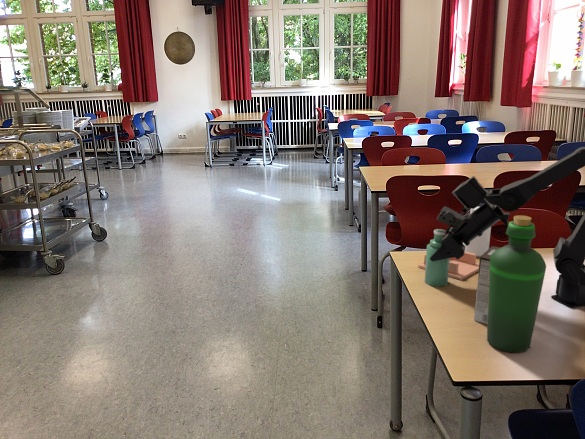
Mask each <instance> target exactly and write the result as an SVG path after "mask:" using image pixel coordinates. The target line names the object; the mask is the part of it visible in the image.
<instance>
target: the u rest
mask: <svg viewBox="0 0 585 439" xmlns="http://www.w3.org/2000/svg"><path fill="white" fill-rule="evenodd" d="M418 268H419V269H423V270H425V268H426V254H425V255H424V261H423V262H422V263H420V264H418ZM478 272H479V262H477V256H476V254H473V253H469V252H465V253H464V256H462V257H461V258H459V259H456V258H455V257H453V258H450V261H449V274H448V278H452V279H456V280H460V281H463V280H465V279H466V278H468V277H470V276H472V275H473V274H475V273H478Z"/></svg>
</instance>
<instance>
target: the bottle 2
mask: <svg viewBox="0 0 585 439" xmlns="http://www.w3.org/2000/svg"><path fill="white" fill-rule="evenodd" d="M531 221H532V217H530V216H528V215H522V214H521V215H514V216H513V220H512V221H508V225H507V228H506V230H505V231H506V232H505V235H507V236H508V244H506V245H504V246H502V247H500V248H499V249H497V250H495V251H494V253H493V254H492V255H491V256H490V272H489V299H488V324H486V325H487V328H486V330H487V331H486V333H487V334H486V341H487V343H489V344H490V345H491V346H492V347H494V348H496V349H498V350H501V351H503V352H508V353H520V352H526V351H527V350H528V349H530V348H531V345H532V344H531V343H532V340H533V339H532V338H533V333H534V329H535V324H536V321H537V315H538V309H539V305H540V299H541V294H542V290H543V284H544V280H545V276H546V269H547V264H546V262H545V259H544V258H543V256H542V254H541V253H540V252H538V251H537V250H535V249H534V248H532V247H531V245H532V241H533V239H534V238H536V226H535V223H532V222H531Z"/></svg>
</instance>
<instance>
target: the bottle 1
mask: <svg viewBox="0 0 585 439" xmlns="http://www.w3.org/2000/svg"><path fill="white" fill-rule="evenodd" d="M433 235H434V236H433V239H430V241H429V243H428V244H426V254H425V255H426V268H425V269H424V270H425V271H424V283H425V284H426V285H429V286H432V287H435V288H436V287H438V288H439V287H440V288H441V287H445V286H447V285H448V284H449V283H448V282H449V277H448V274H449V261H450V258H447V259H442V260H437V261H431V260H430V257H431V256H432V255H433V254H434V253H435V252H436V251H437V249H438V248H439V247H440V246H441V240H442V238H443V237H445V236H446V229H445V230H444V229H440V228H436V229H434V230H433Z"/></svg>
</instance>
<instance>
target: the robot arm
mask: <svg viewBox="0 0 585 439" xmlns="http://www.w3.org/2000/svg"><path fill="white" fill-rule="evenodd" d="M582 168H585V146H581V147H578V148H577V149H576V150H574V151H572V152H571V153H570V154H568V155H566V156H565V157H563V158H561V159H559V160H558V161H556V162H554V163H553V164H551V165H549V166H547V167H545V168H544V169H542V170H540V171H538V172H537V173H534V174H533V175H531V176H530V177H527V178H525V179H520V180H516V181H514V182H512V183H509V184H507V185H504V186H502V188H492V189H491V188H490V189H486V188H485V187H484V186H483V185H482V184H481V183H480V182H479V180H478V179H477V177H476V176H474V175H473V176H471V177H470V178H469V179H466V181H463V182H462V183H460V184H459V185H458V186H457V187H456V188H455V189H454V190H453V191H452V192H451V194H453V196H454V197H456V199H457V200H458V201H459V202H460V203H461V205H463V207H465V208H466V209H470V210H471V208H472V209H474V208H476V207H477V206H478V207H479V208H477V209H476V210H475V211H473V212H472V213H471V212H470V213H471V214H470V213H466V214H465V215H462V214H460V213H459V212H457V211H455V210H454V209H452V208H450V207H448V206H443V207H442V208H441V210H440V212H439V214H438V215H437V217H436V220H437V221H438V222H440V223H443V224H445V225H447V228H446V229H445V235H444V237H443V238H442V240H441V246H440V247H439V248H438V249H437V251H436V252H435V253H434V254H433V255H432V256H431V257H430V260H431V261H437V260H442V259H447V258H453V257H455V258H456V259H459V258H461V257H462V256H464V253H465V246H464V244H465V245H466V246H468V245H469V244H470V241H472V240H473V239H475V238H476V237H477V236H479V237H480V236H481V235H483V232H484V231H486V230H487V229H488V228H490V227H491V228H492V226H494V225H495V224H497V222H499V221H501V223H503V225H504V226H508V225H509V218H510V213H511V212H512V213H513V212H515V211H518V210H519V209H520V208H521V207H523V206H524V205H526V204H527V203H528V202H529V201H530V200H531V199H532V198H533V197H535V195H537V194H538V193H539V192H541V191H543V190H545V189H546V188H548V187H549V186H551V185H553V184H556V183H557V182H559V181H561V180H563V179H564V178H566V177H568V176H570V175H571V174H573V173H575V172H577V171H578V170H579V171H580V169H582ZM482 203H483V204H482ZM504 211H505V212H504ZM463 243H464V244H463ZM552 253H553V254H552V255H553V262H554V266H555V269H556V271H557V272H558V273H559V274H558V279H557V281H556V287H555V294H553V295H551V296H550V298H551V299H553V300H555V301H557V302H559V303H561V304H563V305H564V306H566V307H568V308H577V307H583V306H584V307H585V264H584V263H585V212H584V213H583V215H582V217H581V218H580V220H579V222H578V223H577V225H576V227H575V228H574V230H573V231H572V234H571V235H570V236H568V238H564V237H559V240H558V242H557V244H556V246H555V247H554V248H553V249H552Z"/></svg>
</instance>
